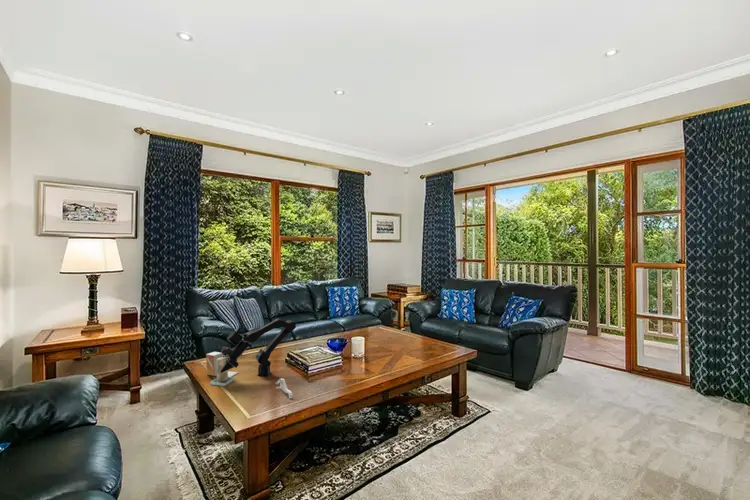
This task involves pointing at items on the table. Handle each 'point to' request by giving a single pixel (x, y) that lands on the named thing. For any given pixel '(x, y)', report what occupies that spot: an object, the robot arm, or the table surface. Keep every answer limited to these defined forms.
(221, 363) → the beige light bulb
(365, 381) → the table surface
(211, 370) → the small box
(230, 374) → the mat
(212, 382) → the light blue square frame
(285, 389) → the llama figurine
